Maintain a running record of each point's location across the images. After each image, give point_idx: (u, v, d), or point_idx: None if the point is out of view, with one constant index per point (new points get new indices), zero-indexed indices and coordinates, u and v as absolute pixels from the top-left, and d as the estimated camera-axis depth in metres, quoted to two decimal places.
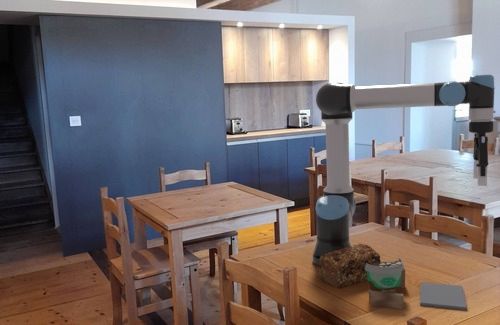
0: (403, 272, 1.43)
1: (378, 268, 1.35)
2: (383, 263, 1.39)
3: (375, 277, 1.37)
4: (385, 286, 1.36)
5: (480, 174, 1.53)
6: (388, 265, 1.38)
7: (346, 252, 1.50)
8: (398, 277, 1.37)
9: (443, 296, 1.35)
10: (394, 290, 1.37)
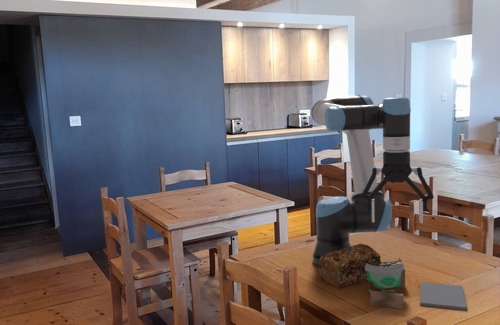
0: (403, 272, 1.43)
1: (378, 268, 1.35)
2: (383, 263, 1.39)
3: (375, 277, 1.37)
4: (385, 286, 1.36)
5: None
6: (388, 265, 1.38)
7: (346, 252, 1.50)
8: (398, 277, 1.37)
9: (443, 296, 1.35)
10: (394, 290, 1.37)
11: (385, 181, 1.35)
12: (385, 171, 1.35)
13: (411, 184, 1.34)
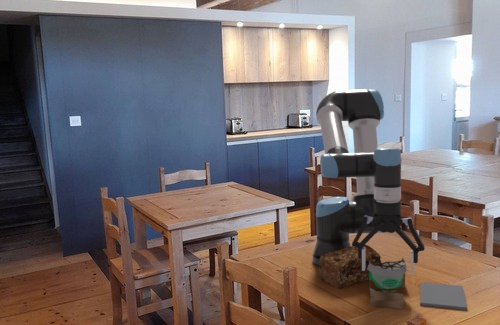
0: None
1: (381, 270, 1.34)
2: (386, 263, 1.38)
3: (378, 278, 1.36)
4: (386, 287, 1.35)
5: None
6: (391, 266, 1.37)
7: (346, 252, 1.50)
8: (400, 278, 1.36)
9: (443, 296, 1.35)
10: (395, 291, 1.36)
11: (375, 231, 1.35)
12: (376, 220, 1.35)
13: (401, 235, 1.33)
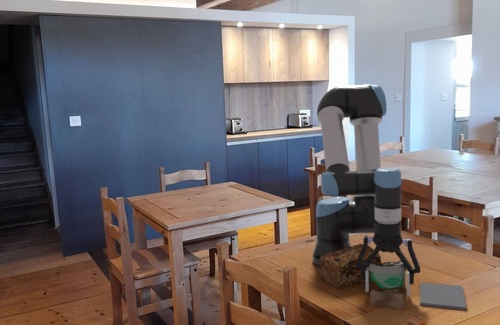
0: None
1: (382, 268, 1.35)
2: (386, 263, 1.39)
3: (379, 277, 1.36)
4: (389, 286, 1.36)
5: None
6: (392, 265, 1.38)
7: (347, 252, 1.50)
8: (402, 277, 1.37)
9: (443, 296, 1.35)
10: (398, 290, 1.37)
11: (376, 251, 1.36)
12: (376, 240, 1.36)
13: (400, 256, 1.34)
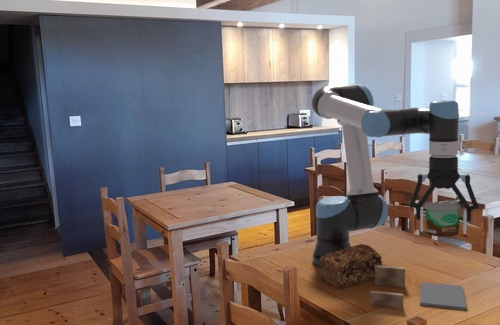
0: (403, 272, 1.43)
1: (439, 205, 1.30)
2: (442, 201, 1.34)
3: (436, 215, 1.31)
4: (446, 223, 1.31)
5: None
6: (448, 202, 1.33)
7: (347, 252, 1.50)
8: (459, 214, 1.32)
9: (443, 296, 1.35)
10: (455, 228, 1.32)
11: (432, 188, 1.31)
12: (431, 177, 1.31)
13: (457, 192, 1.29)
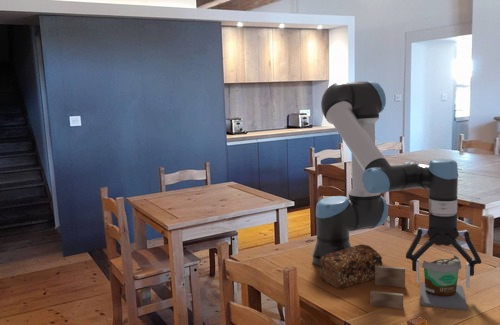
0: (403, 272, 1.43)
1: (438, 265, 1.33)
2: (440, 261, 1.36)
3: (434, 275, 1.34)
4: (444, 284, 1.33)
5: None
6: (446, 262, 1.36)
7: (347, 253, 1.50)
8: (456, 274, 1.34)
9: None
10: (453, 288, 1.34)
11: (430, 243, 1.34)
12: (431, 233, 1.34)
13: (458, 248, 1.32)
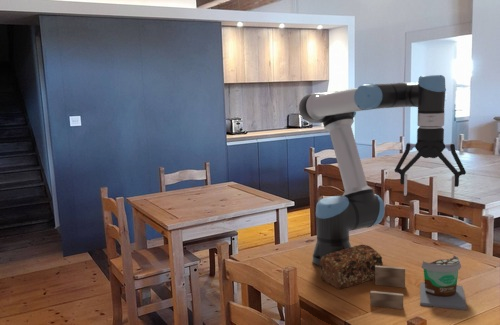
0: (403, 272, 1.43)
1: (437, 266, 1.33)
2: (440, 261, 1.36)
3: (434, 275, 1.34)
4: (444, 284, 1.33)
5: None
6: (446, 263, 1.36)
7: (347, 253, 1.50)
8: (456, 275, 1.34)
9: None
10: (452, 288, 1.34)
11: (418, 156, 1.40)
12: (418, 147, 1.40)
13: (444, 160, 1.38)
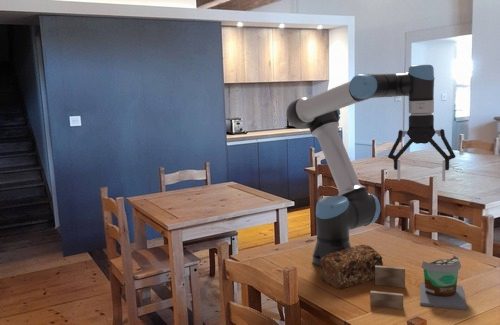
0: (403, 272, 1.43)
1: (437, 266, 1.33)
2: (440, 261, 1.36)
3: (434, 275, 1.34)
4: (444, 284, 1.33)
5: None
6: (446, 263, 1.36)
7: (347, 253, 1.50)
8: (456, 275, 1.34)
9: None
10: (452, 288, 1.34)
11: (410, 142, 1.48)
12: (410, 133, 1.48)
13: (434, 145, 1.46)
